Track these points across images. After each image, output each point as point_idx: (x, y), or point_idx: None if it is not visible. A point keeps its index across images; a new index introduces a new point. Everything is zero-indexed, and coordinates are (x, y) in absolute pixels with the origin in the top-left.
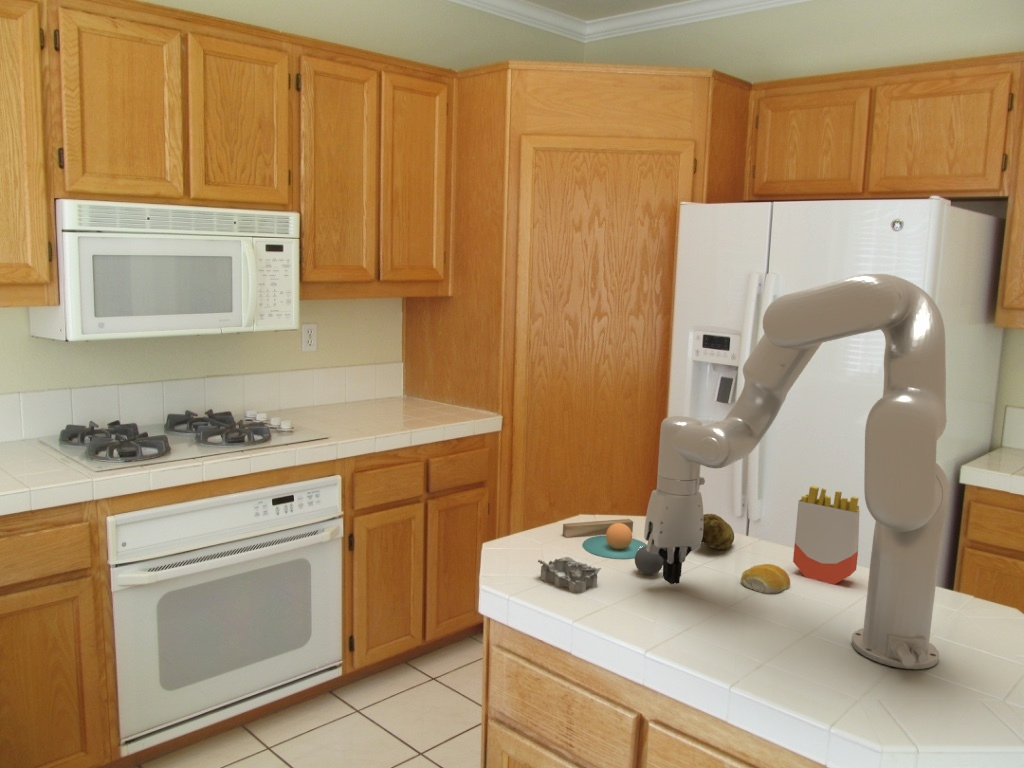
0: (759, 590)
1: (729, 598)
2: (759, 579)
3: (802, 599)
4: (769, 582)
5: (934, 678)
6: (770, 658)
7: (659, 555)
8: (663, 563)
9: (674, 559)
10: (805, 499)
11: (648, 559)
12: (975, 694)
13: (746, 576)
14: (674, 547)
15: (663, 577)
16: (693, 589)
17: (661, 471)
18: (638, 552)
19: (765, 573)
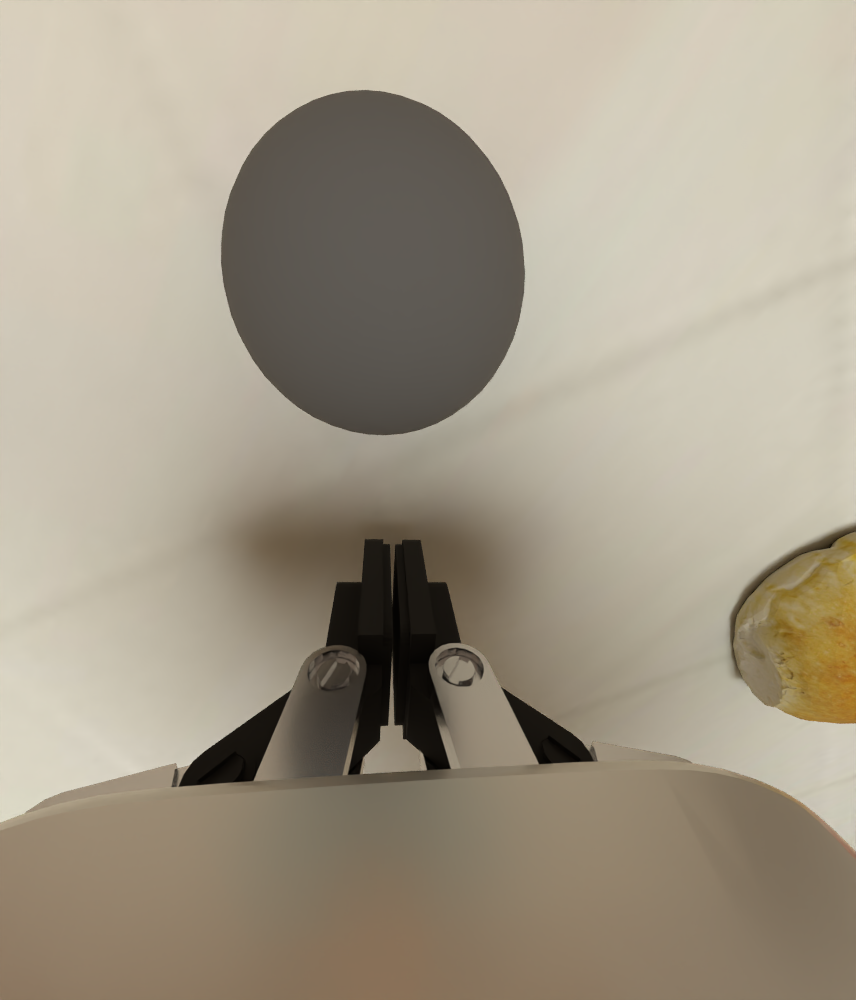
0: (740, 665)
1: (576, 683)
2: (787, 698)
3: (797, 727)
4: (795, 716)
5: None
6: None
7: (435, 413)
8: (326, 645)
9: (407, 704)
10: None
11: (304, 410)
12: None
13: (787, 643)
14: (448, 759)
15: (365, 539)
16: (500, 582)
17: None
18: (230, 243)
19: (845, 718)
